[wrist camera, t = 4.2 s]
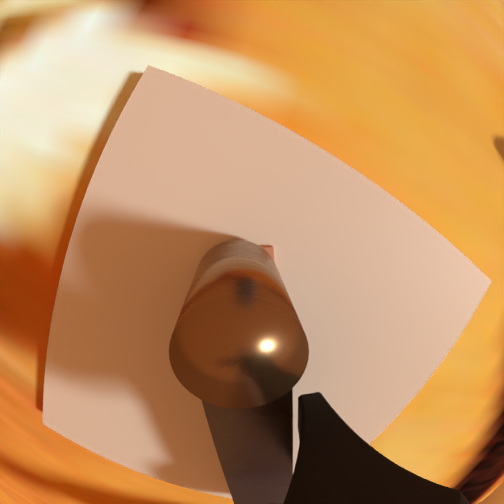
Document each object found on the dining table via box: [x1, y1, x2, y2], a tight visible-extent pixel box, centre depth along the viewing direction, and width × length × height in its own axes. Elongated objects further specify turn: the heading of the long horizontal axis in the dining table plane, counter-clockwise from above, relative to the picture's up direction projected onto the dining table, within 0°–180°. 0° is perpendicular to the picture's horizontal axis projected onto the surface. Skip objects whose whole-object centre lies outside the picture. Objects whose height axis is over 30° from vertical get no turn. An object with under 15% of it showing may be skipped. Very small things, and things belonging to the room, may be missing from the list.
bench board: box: [43, 65, 491, 499], centre depth 12 cm, size 20×18×1 cm
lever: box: [169, 240, 309, 504], centre depth 10 cm, size 17×4×5 cm, turn 5°
